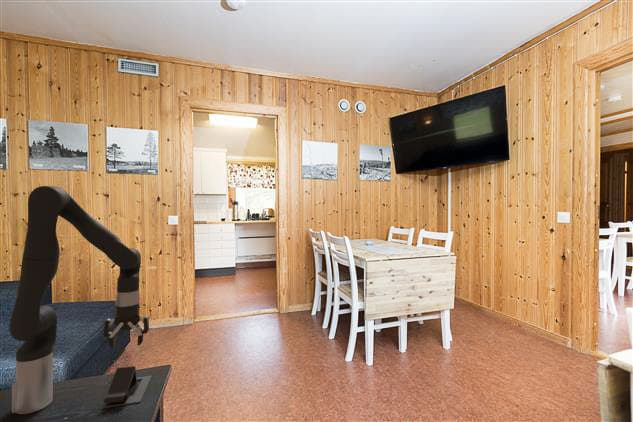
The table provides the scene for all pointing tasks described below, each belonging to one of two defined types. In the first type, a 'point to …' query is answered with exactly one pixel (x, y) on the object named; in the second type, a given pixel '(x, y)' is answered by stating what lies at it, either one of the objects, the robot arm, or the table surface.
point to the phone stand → (121, 386)
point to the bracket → (137, 392)
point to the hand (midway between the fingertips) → (126, 345)
